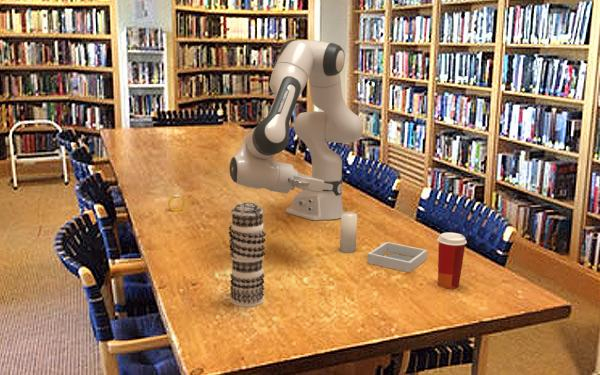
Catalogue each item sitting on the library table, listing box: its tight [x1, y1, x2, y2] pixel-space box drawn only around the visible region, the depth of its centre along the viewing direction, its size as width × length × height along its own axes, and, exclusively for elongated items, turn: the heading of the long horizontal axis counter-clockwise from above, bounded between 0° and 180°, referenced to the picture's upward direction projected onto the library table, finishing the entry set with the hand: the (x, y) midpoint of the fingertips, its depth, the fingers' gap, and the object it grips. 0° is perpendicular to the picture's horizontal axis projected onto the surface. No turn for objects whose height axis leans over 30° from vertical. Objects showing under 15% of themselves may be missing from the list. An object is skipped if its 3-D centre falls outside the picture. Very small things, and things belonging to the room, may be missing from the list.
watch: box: [167, 194, 185, 212], centre depth 237 cm, size 6×3×6 cm, turn 112°
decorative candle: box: [228, 202, 267, 308], centre depth 155 cm, size 9×9×25 cm
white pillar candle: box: [339, 211, 358, 254], centre depth 196 cm, size 5×5×12 cm
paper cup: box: [436, 232, 468, 290], centre depth 170 cm, size 8×8×14 cm
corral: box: [366, 241, 429, 274], centre depth 188 cm, size 14×14×3 cm
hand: (325, 185), depth 189 cm, fingers open, 8 cm apart
